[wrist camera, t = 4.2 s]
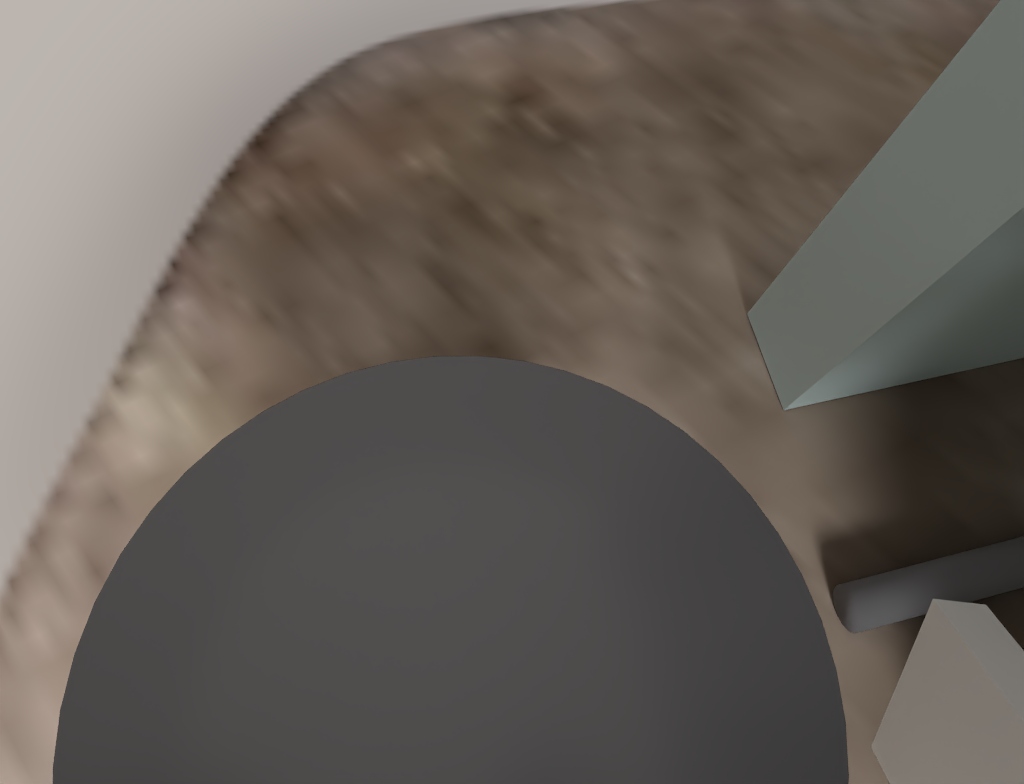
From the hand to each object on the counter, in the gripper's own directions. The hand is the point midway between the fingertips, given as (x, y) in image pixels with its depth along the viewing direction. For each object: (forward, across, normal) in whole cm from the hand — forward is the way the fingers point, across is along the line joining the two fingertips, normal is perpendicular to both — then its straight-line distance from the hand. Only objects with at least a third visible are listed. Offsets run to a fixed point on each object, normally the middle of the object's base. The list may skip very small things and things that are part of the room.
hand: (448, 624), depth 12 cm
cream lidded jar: (+3, 0, +5) cm, 6 cm away
